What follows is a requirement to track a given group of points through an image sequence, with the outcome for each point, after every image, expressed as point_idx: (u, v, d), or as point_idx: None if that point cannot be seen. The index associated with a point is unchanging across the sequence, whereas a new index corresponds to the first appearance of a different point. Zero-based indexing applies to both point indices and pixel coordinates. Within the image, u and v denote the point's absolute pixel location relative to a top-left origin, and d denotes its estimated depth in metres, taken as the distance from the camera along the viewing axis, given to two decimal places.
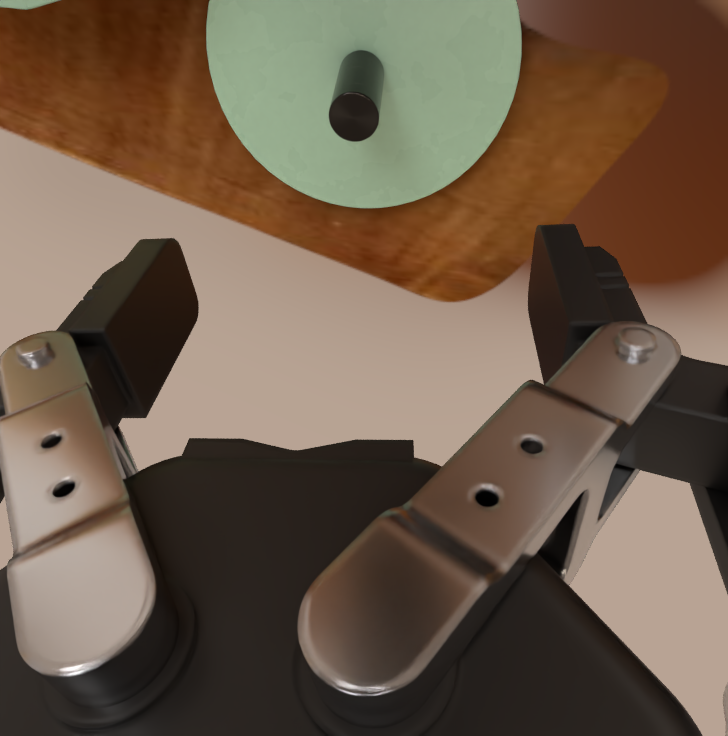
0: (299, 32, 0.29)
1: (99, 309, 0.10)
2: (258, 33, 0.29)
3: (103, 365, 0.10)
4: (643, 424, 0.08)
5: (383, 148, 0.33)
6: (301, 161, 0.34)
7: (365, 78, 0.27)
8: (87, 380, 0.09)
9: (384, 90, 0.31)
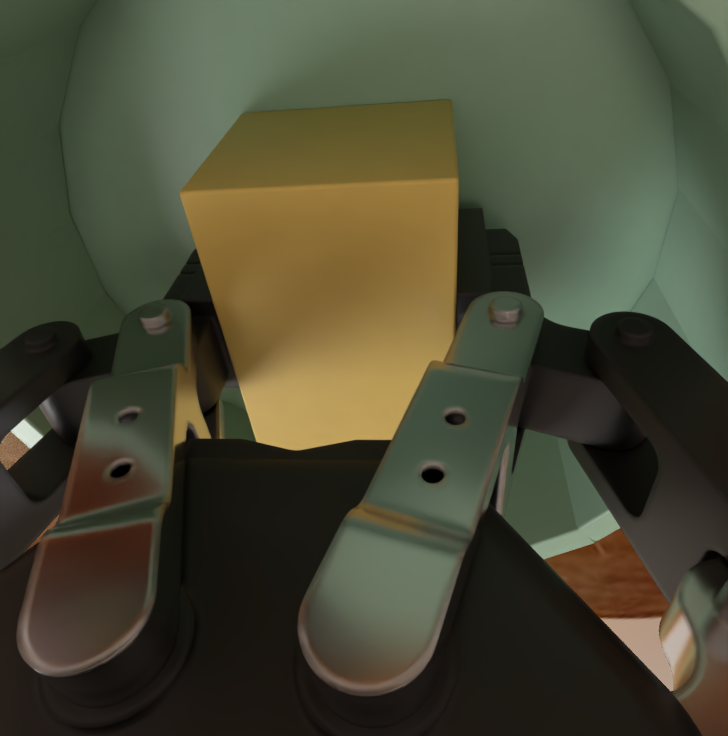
0: None
1: (205, 280, 0.11)
2: None
3: (212, 333, 0.11)
4: None
5: None
6: None
7: None
8: (187, 358, 0.09)
9: None
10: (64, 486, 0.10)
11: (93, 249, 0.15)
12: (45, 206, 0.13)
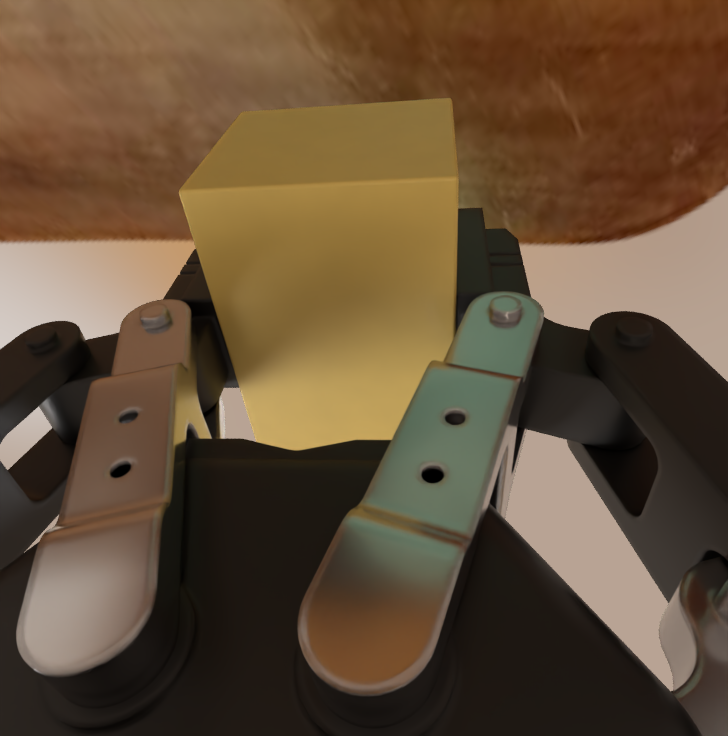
0: None
1: None
2: None
3: (212, 333, 0.11)
4: None
5: None
6: None
7: None
8: (187, 358, 0.09)
9: None
10: (64, 486, 0.10)
11: None
12: None
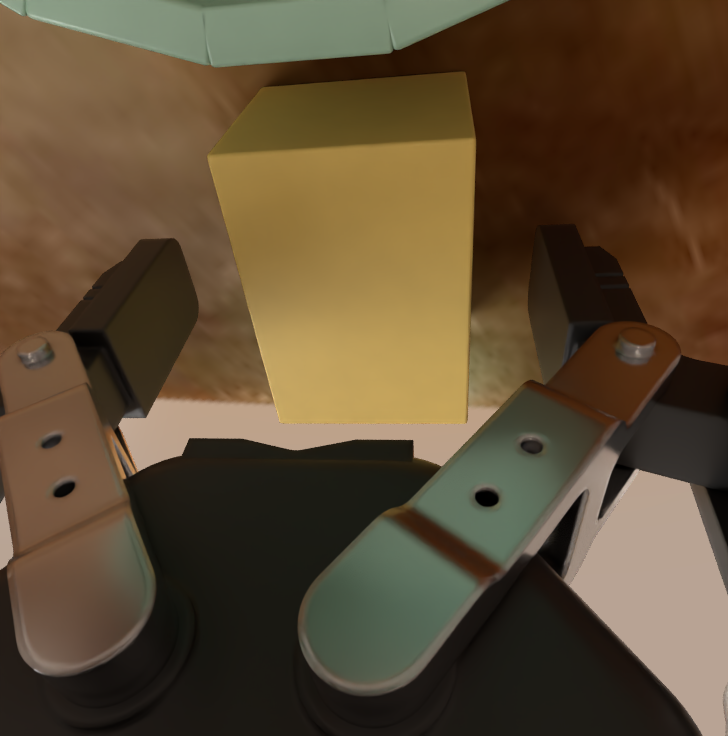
0: None
1: (99, 309, 0.10)
2: None
3: (103, 365, 0.10)
4: (643, 424, 0.08)
5: None
6: None
7: None
8: (87, 380, 0.09)
9: None
10: None
11: None
12: None
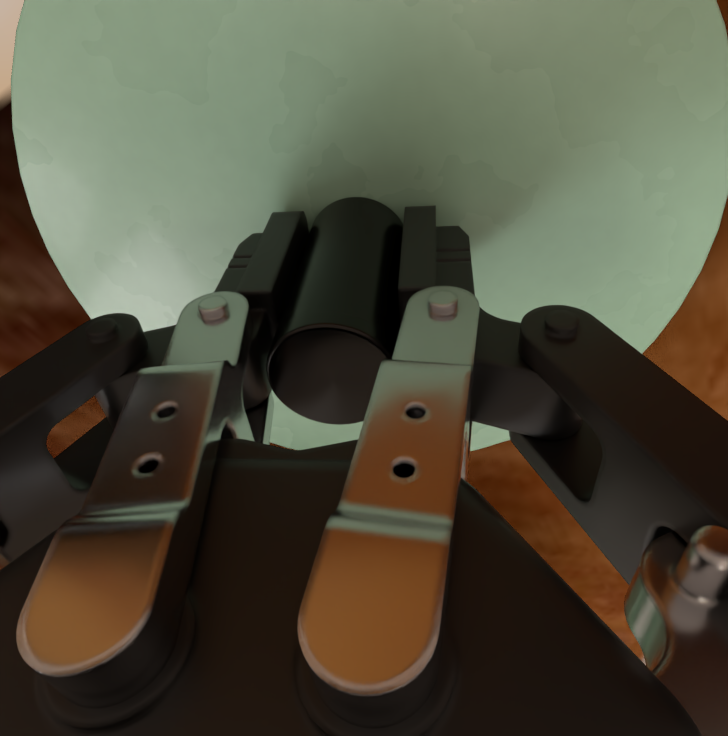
0: None
1: (258, 273, 0.11)
2: None
3: (266, 326, 0.11)
4: None
5: (506, 117, 0.12)
6: (610, 286, 0.14)
7: None
8: (237, 354, 0.09)
9: (365, 184, 0.13)
10: None
11: None
12: None
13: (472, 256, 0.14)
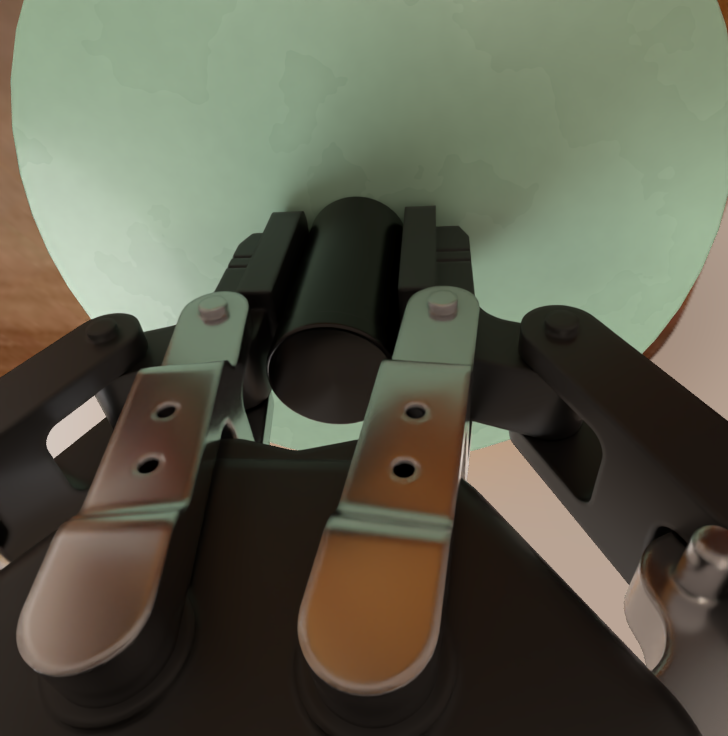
0: None
1: (258, 273, 0.11)
2: None
3: (266, 326, 0.11)
4: None
5: (506, 116, 0.12)
6: (611, 286, 0.14)
7: None
8: (236, 354, 0.09)
9: (365, 184, 0.13)
10: None
11: None
12: None
13: (472, 256, 0.14)
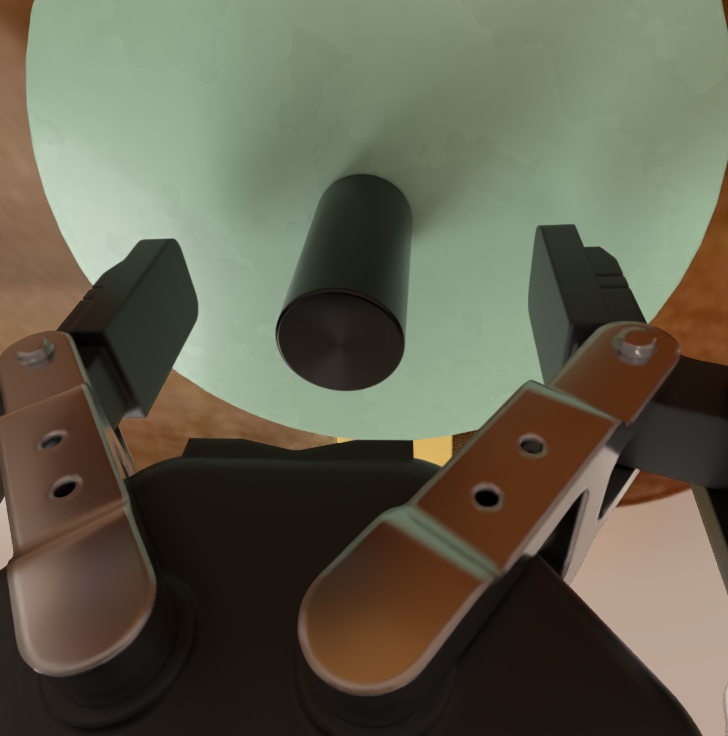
0: None
1: (99, 309, 0.10)
2: (390, 385, 0.18)
3: (103, 365, 0.10)
4: (643, 424, 0.08)
5: (508, 92, 0.12)
6: None
7: None
8: (87, 380, 0.09)
9: (371, 161, 0.13)
10: None
11: None
12: None
13: (475, 232, 0.14)
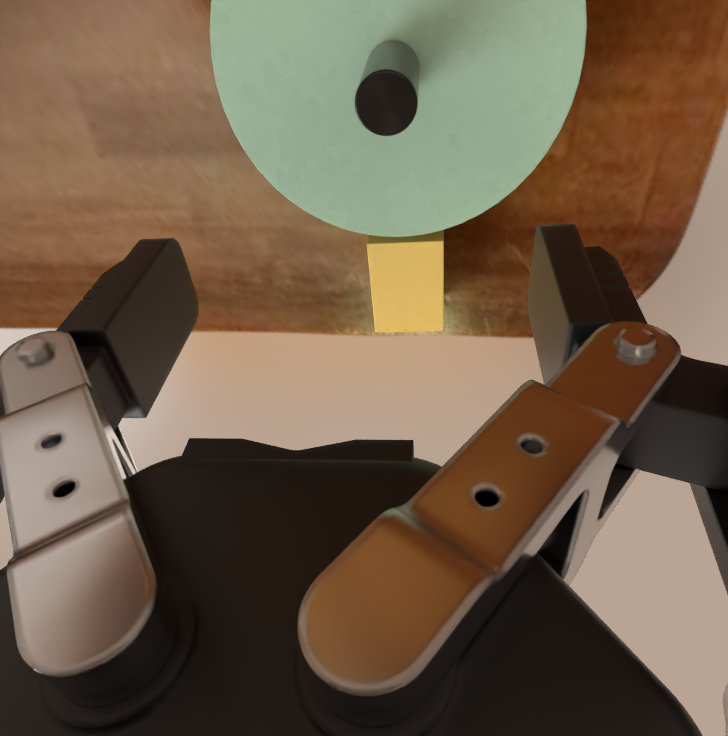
0: (385, 153, 0.28)
1: (99, 309, 0.10)
2: (404, 190, 0.29)
3: (103, 365, 0.10)
4: (643, 424, 0.08)
5: None
6: (531, 94, 0.26)
7: None
8: (87, 380, 0.09)
9: (397, 32, 0.24)
10: None
11: None
12: None
13: (454, 77, 0.25)
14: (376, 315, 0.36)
